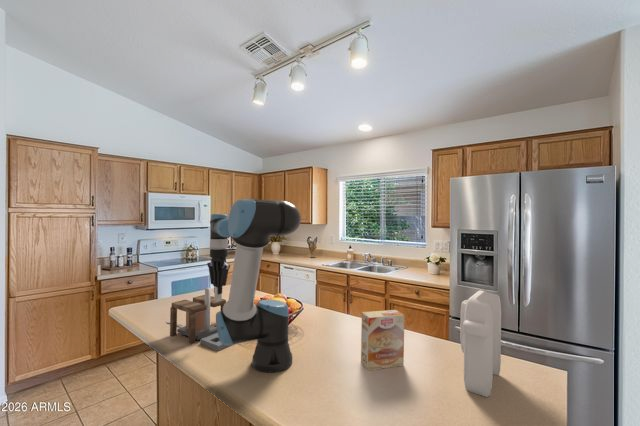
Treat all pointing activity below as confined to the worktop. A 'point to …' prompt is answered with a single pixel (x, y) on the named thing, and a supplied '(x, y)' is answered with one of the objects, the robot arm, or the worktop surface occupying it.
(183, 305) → the wooden rack
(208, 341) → the pit plate
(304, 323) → the worktop surface
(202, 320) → the white lever handle
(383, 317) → the coffeecake box
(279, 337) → the robot arm
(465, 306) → the white upright slab
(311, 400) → the worktop surface
